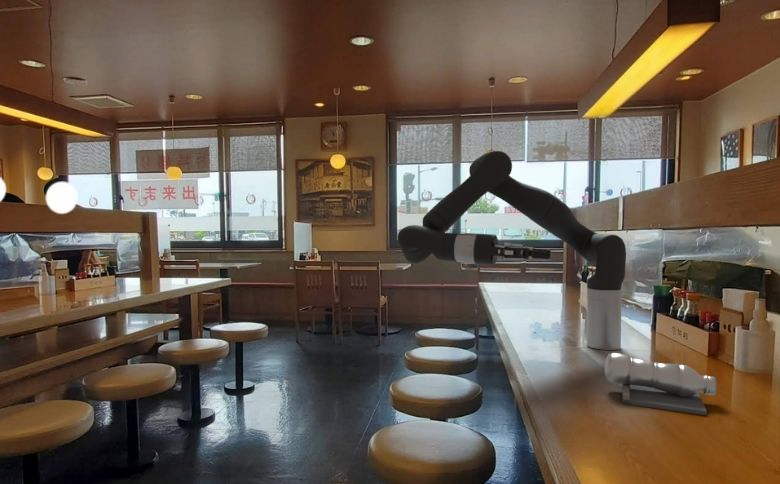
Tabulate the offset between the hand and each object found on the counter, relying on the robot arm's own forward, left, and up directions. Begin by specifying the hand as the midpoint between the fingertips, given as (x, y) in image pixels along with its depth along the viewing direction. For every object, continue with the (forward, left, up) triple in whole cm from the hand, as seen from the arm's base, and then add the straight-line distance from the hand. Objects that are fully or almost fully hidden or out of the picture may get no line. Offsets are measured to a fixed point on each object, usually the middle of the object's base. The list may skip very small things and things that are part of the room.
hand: (550, 254), depth 106 cm
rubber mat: (+1, +22, -29) cm, 37 cm away
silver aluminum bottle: (+1, +11, -24) cm, 27 cm away
